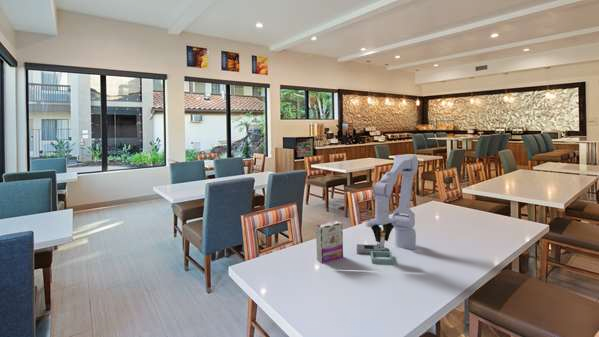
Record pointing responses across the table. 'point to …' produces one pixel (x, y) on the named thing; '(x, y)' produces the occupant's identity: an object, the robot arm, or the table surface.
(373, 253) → the tray
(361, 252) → the plate
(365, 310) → the table surface
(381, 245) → the pin
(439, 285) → the table surface
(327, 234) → the candy bar box
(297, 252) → the table surface
